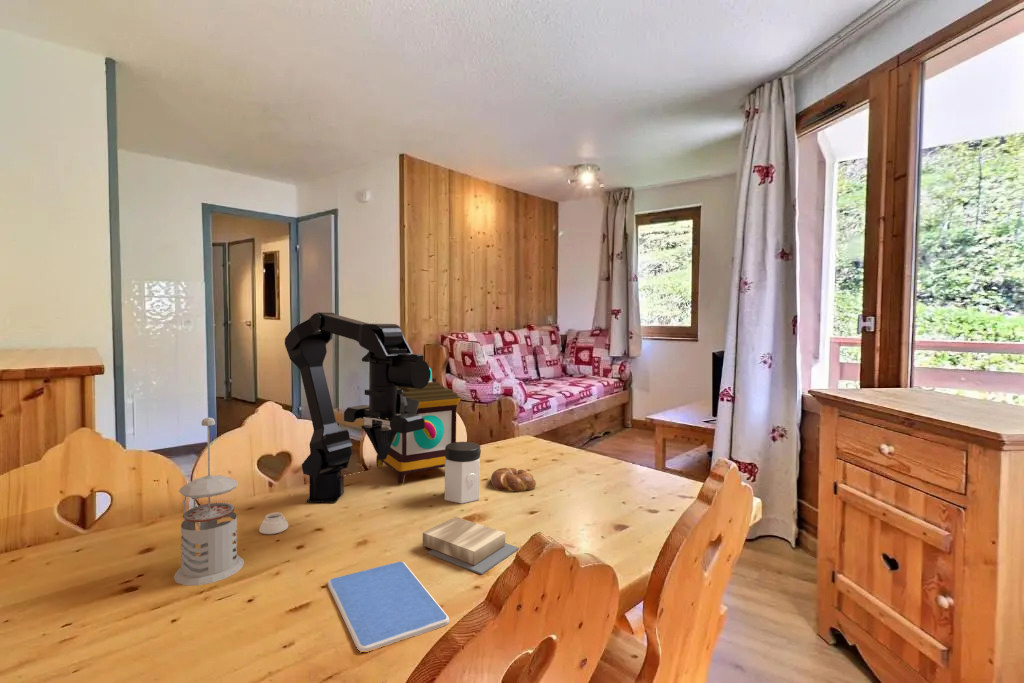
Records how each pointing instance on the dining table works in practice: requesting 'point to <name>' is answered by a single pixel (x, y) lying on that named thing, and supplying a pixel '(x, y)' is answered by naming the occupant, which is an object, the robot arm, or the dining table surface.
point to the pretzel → (512, 480)
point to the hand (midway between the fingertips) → (383, 459)
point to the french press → (208, 531)
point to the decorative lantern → (425, 431)
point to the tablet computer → (385, 605)
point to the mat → (482, 565)
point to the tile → (464, 540)
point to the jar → (462, 472)
